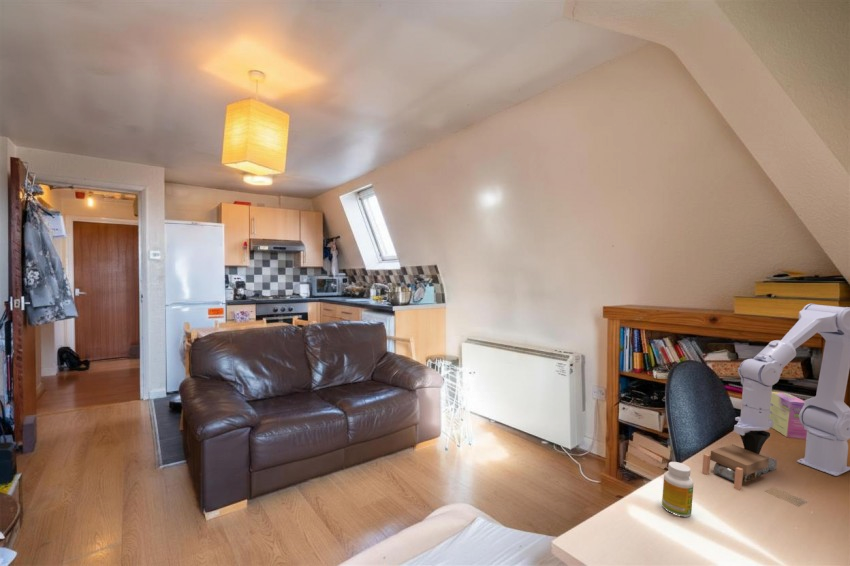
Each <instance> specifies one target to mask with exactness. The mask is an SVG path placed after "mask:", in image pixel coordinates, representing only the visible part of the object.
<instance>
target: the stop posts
mask: <svg viewBox="0 0 850 566" xmlns="http://www.w3.org/2000/svg"><path fill="white" fill-rule="evenodd" d="M710 456H711V454H708V453H703V456H702V471H701V473H702V474H704V475H710V469H711V468H710V467H711V460H710ZM742 478H743V469H742V468H739V467H737V468H736V470H735V482H733V483H734V485H733V488H734V489H736V490H738V491H740V490H742V489H743V487H742V486H743V481H742Z"/></svg>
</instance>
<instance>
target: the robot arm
mask: <svg viewBox="0 0 850 566" xmlns="http://www.w3.org/2000/svg"><path fill="white" fill-rule="evenodd" d="M816 334H819V335H820V336H821V337H822V338H823V339H824V340H825V343H824V348H823V355H822V359H821V365H820V371H819V377H818V383H817V386H816V387H817V388H816V393H815V394H816V395H815V396H811V398H807V399H805V400H804V401H805V403H804V406H803V408H802V409H801V411H800V414H799V418H800V422H801V423H802V424H803V425H804V429H805V430H807V437H806V439H805V440H806V441H805V448H804V449H805V450H804V457H803V458H800V459H797V463H798V464H802V465H804V466H807V467H810V468H813V469H815V470H818V471H821V472H823V473H826V474H829V475H832V476H835V477H838V476H840V475H842V474H845V473H846V472H849V471H850V466H849V465H848V466H847V464H848V455H849V442H848V441H849V440H850V406H849V405H847V404H846V402H844V401H845V398H846V397H845V396H846V390H847V385H848V380H849V374H850V306H849V307H848V306H846V307H845V306H835V305H834V306H833V305H825V304H824V305H823V304H816V303H808V304H806V305H804V306H803V308H802V309H801V310H799V312H798V320H797V322H796V323H795V324H794V325H793V326H791V328H790V329H789V331H787V333H786V334H785V335H784V336H783V337H782V339H776V340H774V339H773V340H772V341H770V342H769V343H768V344H767V345H766V346H765V347H764V348H763V349H762V350H761V351H760V352H758V353H757V354H756V355H755V356H754V357H753V358H747V359H744V360H743V361H741V363H740V365H739V367H738V368H737V374H738V375H739V377H740V384H741V386H742V393H741V394H742V396H741V406H740V416H737V417H735V418H734V420H735V421H737V423H736V424H734V427H733V433H734V434H737V435H739V437H740V439H741V441H742V444H743V448H744V449H746V450H749V451H752V452H754V453H757V454H761V451H762V448H763V445H764V444H765V443H766V441H767V440H768V439H769V438H770V437H771V433H770V431H769V430H770V428H771V429H772V427H773V420H771V419H769V417H770V404H771V393H772V392H773V386H774V385H775V384H777V383H778V382H779V380H780V378H781V374H782V373H783V369H784V368H785V367H786V366H787V365H788V364H789V363H790V362H791V361H792V360H793V359H795V357H796V356H797V351H796V349H797V348H798V347H800V346H801V345H803V344H804V343H805V342H807V341H808V340H810V338H812V337H813V336H815V335H816Z"/></svg>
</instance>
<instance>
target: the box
mask: <svg viewBox="0 0 850 566" xmlns="http://www.w3.org/2000/svg"><path fill="white" fill-rule="evenodd" d="M804 403H805V400H803V399H801V398H800V397H796V396H795V395H793V394H790V393H788V392H782V391H781V392H780V391H772V393H771V404H770V417H769V419H771V420H773V427H771V429H773V430H775V431H776V432H778V433H780V434H782V435H783V436H784V437H786V438H790V439H798V440H806V437H807V430H805V429H804V425H803V424H802V423H801V422H800V418H799V414H800V411H801V409H802V408H803V406H804Z"/></svg>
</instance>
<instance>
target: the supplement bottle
mask: <svg viewBox="0 0 850 566" xmlns="http://www.w3.org/2000/svg"><path fill="white" fill-rule="evenodd" d="M667 469H668V470H667V471H666V472H665V473H664V475H663V483H662V485H663V486H662V497H661V498H662V499H661V506H662V505H663V506H662V507H664V508H665V509H667V510H668V511H670V512H672V513H675V514H677V515H680V516H684V517H683V518H688V516H689V517H691V515H692V512H693V511H692V508H693V498H694V497H693V496H694V481H693V479H692V478H691V467H690V466H688V465H687V464H684V463H681V462H677V461H670V462H668V466H667ZM664 508H663V509H664ZM665 509H664V510H665ZM668 511H667V512H668ZM680 516H679V517H680Z"/></svg>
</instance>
